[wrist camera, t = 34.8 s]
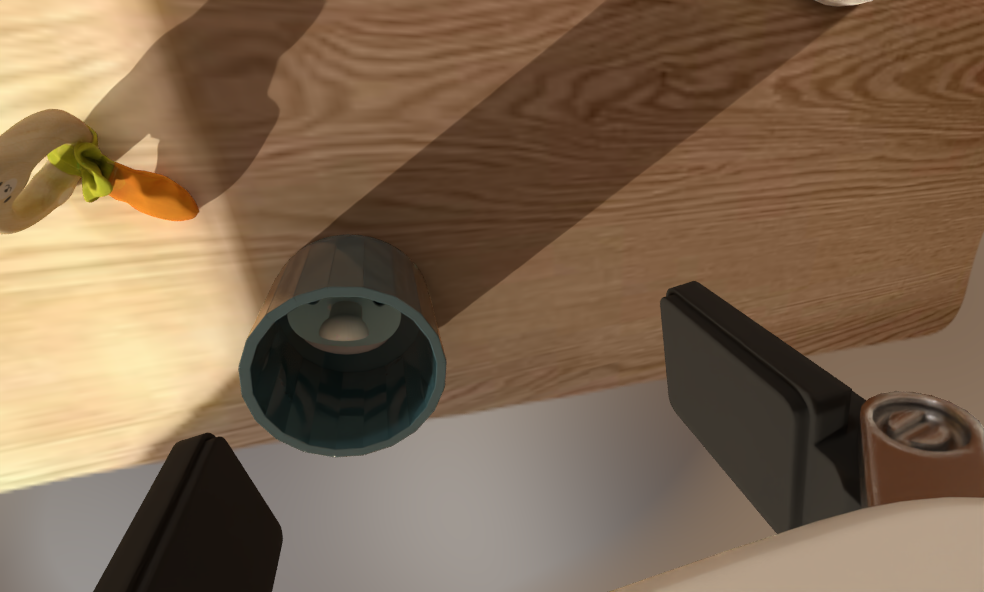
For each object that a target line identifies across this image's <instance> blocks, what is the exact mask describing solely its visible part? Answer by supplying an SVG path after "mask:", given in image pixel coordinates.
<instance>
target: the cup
mask: <svg viewBox="0 0 984 592" xmlns="http://www.w3.org/2000/svg"><path fill="white" fill-rule="evenodd" d="M328 297H362V298H366V299H369V300H373V302H374V303H376V304H378V305H382V304H387V305H390V306H392V307H393V308H395V309H397V310H398V311H400V312H401V321H400V324H399V327H398V328H397V330H396V331H395V332H394V334H393V335H392V336H391V337H390V338H388V340H387V341H386V342H385V343H383V344H382V345H381V346H379V347H378V348H375V349H373V350H370V351H368V352H363V353H359V354H334V353H330V352H326V351H322V350H320V349H318V348H315V347H313V346H312V345H311V344H309V343H308V342H306V341H305V339H304V338H302V337H300V336H299V335H298V334H297V333H295V331H294V330H293V329H292V328H291V326H290V324H289V321H288V316H287V314H288V313H289V312H291V311H292V310H294V309H295V308H297V307H299V306H300V305H304V304H307V303H315V302H317V301H319V300H321V299H325V298H328ZM446 363H447V362H446V357H445V353H444V349H443V345H442V341H441V337H440V333H439V329H438V325H437V321H436V317H435V314H434V310H433V306H432V302H431V298H430V295H429V292H428V288H427V285H426V282H425V280H424V277H423V276H422V274H421V272H420V270H419V269H418V268H417V266H416V265H415V264H414V262H413V261H412V260H411V259H410V258H409V257H408V256H407V255H405V254H404V253H403V252H402V251H400V250H399V249H397V248H396V247H394V246H392V245H391V244H389V243H386V242H384V241H382V240H379V239H376V238H372V237H368V236H362V235H337V236H332V237H327V238H324V239H321V240H318V241H315V242H313V243H311V244H309V245H307V246H305V247H304V248H302V249H301V250H300V251H298V252H297V253H296V254H295V255H293V256H292V257H291V258H290V259H289V260H288V261H287V263H286V264H285V265H284V266H283V268H282V269H281V271H280V273H279V274H278V276H277V277H276V278H275V280H274V282H273V284H272V287H271V289H270V291H269V293H268V295H267V297H266V299H265V301H264V304H263V306H262V308H261V310H260V312H259V314H258V316H257V318H256V320H255V323H254V325H253V327H252V329H251V331H250V333H249V335H248V337H247V339H246V342H245V346H244V349H243V353H242V356H241V360H240V363H239V368H238V370H239V378H240V386H241V394H242V397H243V399H244V401H245V403H246V405H247V406H248V408H249V410H250V412H251V414H252V415H253V417H254V419H255V420H256V422H258V423H259V424H260V425H261V426H262V427H263V428H264V429H266V430H267V431H268V432H269V433H270V434H271V435H272V436H273V437H275V438H276V439H278V440H279V441H281V442H283V443H286V444H288V445H290V446H292V447H294V448H297V449H299V450H301V451H303V452H304V451H305V452H307V453H312V454H319V455H324V456H330V457H347V456H361V455H364V454H365V455H366V454H369V453H372V452H375V451H378V450H381V449H385V448H388V447H391V446H393V445H395V444H396V443H398V442H399V441H401V440H403V439H404V438H406V437H407V436H409V435H411V434H412V433H414V432H415V431H416V430H417V429H418V428H419V427H420V426H421V425H422V424H423V423H424V422H425V421H426V420H427V418H428V417H429V416H430V415H431V414H432V413H433V412H434V410H435V408H436V406H437V404H438V402H439V399H440V397H441V395H442V393H443V390H444V388H445V378H446Z"/></svg>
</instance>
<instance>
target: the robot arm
mask: <svg viewBox="0 0 984 592" xmlns="http://www.w3.org/2000/svg"><path fill="white" fill-rule="evenodd" d="M814 1H817V2H819V3H822V4H824V5H830V6H838V7H840V6H849V5H857V4H861V3H865V2H869V1H872V0H814ZM660 308H661V319H662V330H663V340H664V351H665V362H666V373H667V384H668V395H669V400H670V403H671V405H672V407H673V409H674V411H675V412H676V414H677V415H678V416H679V417H680V418H681V420H682V421H683V422H684V423H685V424H686V426H687V427H688V428H689V429H690V430H691V432H692V433H693V434H694V435H695V436H696V437H697V439H698V440H699V441H700V442H701V444H702V445H703V446H704V447H705V448H706V450H707V451H708V452H709V453H710V454H711V455H712V457H713V458H714V459H715V460H716V462H717V463H718V464H719V465H720V466H721V468H722V469H723V470H724V471H725V472H726V474H727V475H728V476H729V477H730V478H731V480H732V481H733V482H734V483H735V484H736V485H737V487H738V488H739V489H740V490H741V491H742V493H743V494H744V495H745V496H746V497H747V499H748V500H749V501H750V502H751V503H752V505H753V506H754V507H755V508H756V509H757V511H758V512H759V513H760V514H761V515H762V517H763V518H764V519H765V520H766V521H767V523H768V524H769V525H770V526H771V527H772V529H773V530H774V531H775V532H776V533H777V534H776V535H773V536H770V537H767V538H764V539H761V540H758V541H755V542H752V543H749V544H746V545H743V546H740V547H737V548H734V549H730V550H727V551H724V552H722V553H719V554H716V555H713V556H710V557H707V558H704V559H701V560H699V561H696V562H693V563H690V564H687V565H684V566H681V567H678V568H676V569H673V570H670V571H667V572H664V573H661V574H658V575H656V576H653V577H650V578H647V579H644V580H641V581H638V582H635V583H632V584H630V585H627V586H624V587H621V588H618V589H616V590H613V591H609V592H984V428H983V426H982V425H981V423H980V422H979V420H977V419H976V418H975V417H974V416H973V415H971V414H970V413H969V412H968V411H966V410H965V409H963V408H961V407H959V406H957V405H955V404H953V403H951V402H949V401H946V400H944V399H941V398H938V397H935V396H932V395H926V394H921V393H916V392H899V391H894V392H888V393H881V394H878V395H876V396H874V397H871V398H869V399H868V400H867V401H866V400H864V399H863V398H862V397H860V396H859V395H858V394H856V393H855V392H853V391H852V389H851V388H850V387H848V386H847V385H845V384H844V383H843V382H841V381H840V380H838V379H837V378H835V377H834V376H832V375H831V374H830V373H828V372H827V371H825V370H824V369H822V368H821V367H819V366H818V365H817V364H815V363H814V362H812V361H811V360H809V359H808V358H807V357H805V356H804V355H802V354H801V353H799V352H798V351H796V350H795V349H794V348H792V347H791V346H789V345H788V344H786V343H785V342H783V341H782V340H781V339H779V338H778V337H776V336H775V335H773V334H772V333H771V332H769V331H768V330H766V329H765V328H763V327H762V326H760V325H759V324H758V323H756V322H755V321H753V320H752V319H750V318H749V317H747V316H746V315H745V314H743V313H742V312H740V311H739V310H737V309H736V308H735V307H733V306H732V305H730V304H729V303H727V302H726V301H724V300H723V299H722V298H720V297H719V296H717V295H716V294H714V293H713V292H711V291H710V290H709V289H707V288H706V287H704V286H703V285H701V284H700V283H698V282H696V281H692V282H689V283H686V284H683V285H679V286H676V287H673V288H670V289H668V291H667V294H666V297H664V298H662V299H661V301H660ZM282 541H283V536H282V530H281V526H280V524H279V522H278V521H277V519H276V518H275V516H274V515H273V513H272V512H271V510H270V508H269V507H268V505H267V504H266V502H265V501H264V499H263V497H262V496H261V494H260V493H259V491H258V490H257V488H256V486H255V485H254V483H253V482H252V480H251V479H250V477H249V476H248V474H247V472H246V471H245V469H244V468H243V466H242V465H241V463H240V461H239V460H238V458H237V457H236V455H235V454H234V452H233V450H232V449H231V447H230V446H229V444H228V443H227V441H226V440H225V439H224V438H223V437H215V436H214V435H213V434H211V433H205V434H201V435H198V436H195V437H192V438H189V439H185V440H182V441H179V442H177V443H176V444H175V445H174V447H173V448H172V450H171V452H170V454H169V456H168V457H167V459H166V461H165V463H164V465H163V466H162V468H161V470H160V472H159V474H158V476H157V477H156V479H155V481H154V483H153V485H152V486H151V488H150V490H149V492H148V494H147V495H146V497H145V499H144V501H143V503H142V504H141V506H140V508H139V510H138V512H137V513H136V515H135V517H134V519H133V521H132V522H131V525H130V526H129V528H128V530H127V532H126V533H125V535H124V537H123V539H122V541H121V542H120V544H119V546H118V548H117V550H116V551H115V553H114V555H113V557H112V559H111V560H110V562H109V564H108V566H107V568H106V570H105V571H104V573H103V575H102V577H101V579H100V580H99V582H98V584H97V586H96V588H95V590H94V591H93V592H272V589H273V584H274V580H275V575H276V570H277V566H278V561H279V556H280V551H281V547H282Z"/></svg>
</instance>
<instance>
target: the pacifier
mask: <svg viewBox="0 0 984 592" xmlns="http://www.w3.org/2000/svg"><path fill="white" fill-rule="evenodd" d="M287 316H288V321H289V324H290V326H291V328H292V329H293V330H294V331H295V333H297V334H298V335H299V336H300V337H302V338H304V339H305V341H306V342H308V343H309V344H311V345H312V346H313V347H315V348H318V349H320V350H322V351H326V352H330V353H334V354H359V353H363V352H368V351H370V350H373V349H375V348H378V347H379V346H381V345H382V344H383V343H385V342H386V341H387V340H388V338H390V337H391V336H392V335H393V334H394V332H395V331H396V330H397V328H398V327H399V324H400V321H401V312H400V311H398V310H397V309H395V308H393V307H392V306H390V305H387V304H382V305H378V304H376V303H374V302H373V300H369V299H366V298H362V297H328V298H325V299H321V300H319V301H317V302H315V303H307V304H304V305H300V306H299V307H297V308H295V309H294V310H292V311H291V312H289V313H288V314H287Z"/></svg>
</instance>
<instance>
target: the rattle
mask: <svg viewBox="0 0 984 592" xmlns="http://www.w3.org/2000/svg"><path fill="white" fill-rule="evenodd" d="M46 155H47V157H48V161H47V162H46V164H45V165H44V166H43V168H42V169H41V170H40V171H39V172H38V173H37V174H36V175H35V176H34V177H33V178H32V180H31V181H30V182H29V184H28V185H27V186H26V184H27V182H28V180H29V177H30V174H31V172H32V170H33V169H34V167H35V166H36V165H37V164H38V163H39V162H40V161H41V160H42V159H43V158H44V157H45V156H46ZM81 177H82V191H83V196H84V199H85V201H86V202H94V201H95V200H97V199H98V198H99V197H103V196H107V195H110V196H111V197H113V198H114V199H116V200H119V201H123V202H126V203H128V204H130V205H131V206H132V207H133V208H135V209H136V210H138V211H140V212H142V213H145V214H148V215H151V216H153V217H157V218H161V219H165V220H171V221H184V220H189V219H193V218H194V217H196V215H197V214H198V213H199V209H198V207H197V204H196V203H195V201H194V199H193V198H192V196H191V195H190V194H189V193H188V191H187V190H185V189H184V188H183V187H181V186H180V185H179V184H177V183H176V182H174V181H173V180H171V179H170V178H168V177H166V176H163V175H160V174H157V173H152V172H147V171H141V170H134V169H132V168H129V167H127V166H124V165H122V164H119V163H117V162H114V161H112V160H110V159H109V158H107V157H106V156H105V155H103V154H101V151H100V149H99V148H98V138H97V134H96V132H95V131H94V130H93V129H91V128H90V127H89V126H88V125H86V124H85V123H84V122H82V121H81V120H80V119H78V118H76V117H75V116H73V115H71V114H69V113H67V112H65V111H62V110H58V109H48V110H43V111H40V112H37V113H34V114H32V115H30V116H28V117H26V118H24V119H23V120H21V121H19V122H18V123H16V124H15V125H14V126H12V127H11V128H10V129H8V130H7V131H6V132H4V133H3V134H2V135H1V136H0V234H12V233H16V232H19V231H22V230H24V229H26V228H29V227H30V226H32V225H34V224H35V223H37V222H39V221H40V220H42V219H43V218H44V217H46V216H47V215H48V214H50V213H51V212H52V211H53V210H54V209H56V208H57V207H59V206H60V205H62V204H63V203H64V202H66V201H67V199H68V198H69V197H70V196H71V194H72V192H73V191H74V188H75V186H76V184H77V183H78V181H79V180H80V178H81ZM25 186H26V187H25Z"/></svg>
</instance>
